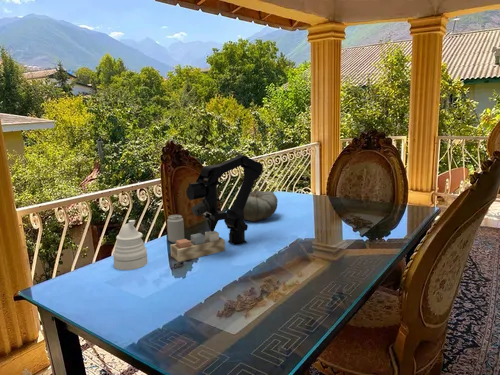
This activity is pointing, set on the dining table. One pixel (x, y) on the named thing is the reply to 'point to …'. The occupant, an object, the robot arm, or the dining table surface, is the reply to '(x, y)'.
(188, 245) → the salmon rounded block
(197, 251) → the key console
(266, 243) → the dining table surface
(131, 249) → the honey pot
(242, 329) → the dining table surface
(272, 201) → the gourd
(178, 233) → the can
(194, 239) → the slate key
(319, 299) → the dining table surface
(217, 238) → the ivory key
